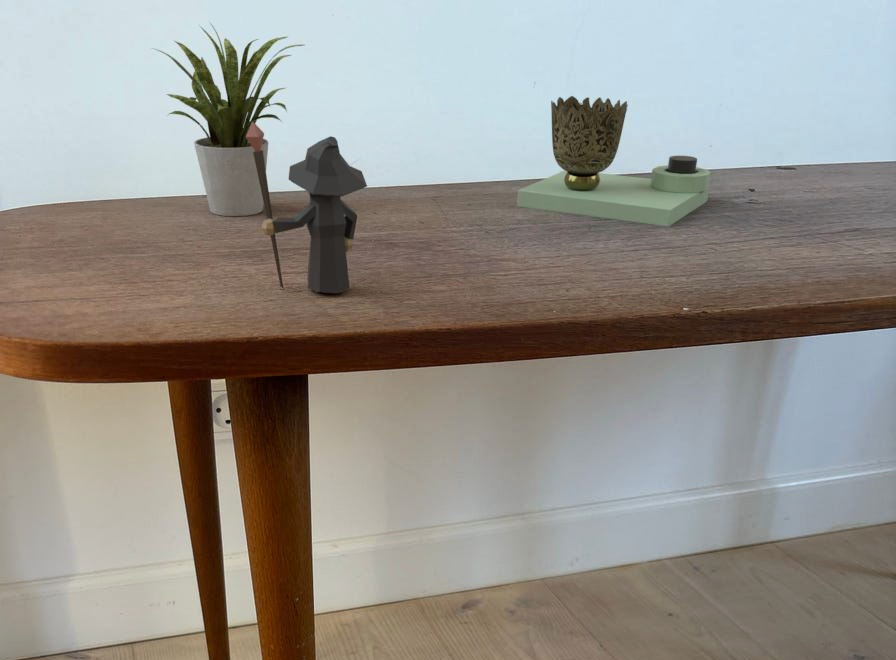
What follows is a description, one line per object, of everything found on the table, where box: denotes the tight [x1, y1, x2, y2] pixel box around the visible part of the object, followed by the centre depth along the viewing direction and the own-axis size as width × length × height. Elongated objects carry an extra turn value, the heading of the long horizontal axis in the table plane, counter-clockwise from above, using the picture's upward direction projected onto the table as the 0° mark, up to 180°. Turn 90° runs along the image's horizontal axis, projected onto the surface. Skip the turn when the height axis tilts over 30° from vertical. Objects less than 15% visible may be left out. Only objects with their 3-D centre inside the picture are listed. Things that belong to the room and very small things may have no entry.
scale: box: [516, 164, 712, 227], centre depth 108 cm, size 16×13×3 cm
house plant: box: [151, 22, 304, 217], centre depth 100 cm, size 14×14×16 cm
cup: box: [550, 95, 628, 191], centre depth 105 cm, size 8×7×8 cm
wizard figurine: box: [246, 121, 368, 294], centre depth 79 cm, size 8×6×12 cm
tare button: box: [667, 155, 698, 174], centre depth 107 cm, size 3×3×2 cm
